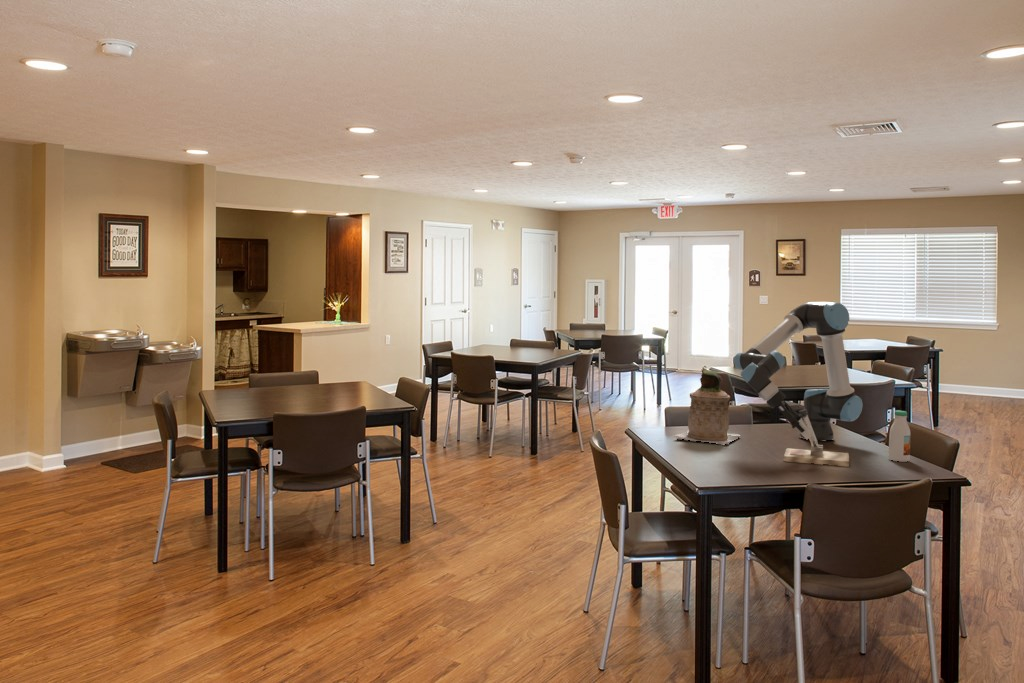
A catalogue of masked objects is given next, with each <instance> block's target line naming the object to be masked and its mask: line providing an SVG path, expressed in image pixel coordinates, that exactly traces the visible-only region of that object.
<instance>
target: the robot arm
mask: <svg viewBox="0 0 1024 683" xmlns="http://www.w3.org/2000/svg"><path fill="white" fill-rule="evenodd" d="M849 322H850V314H849V311H848V308H847V307H846V306H845V305H844V304H843V303H840V302H835V301H809V302H808V301H807V302H805V303H803V304H800V305H798V306H797V307H795V308H793V309H792V310H791V311H790V312H788V313H787V314H786V315H785V316H784V317H783V320H782V321H781V322H780V323H779V324H778V325H777V326H775V327H774V328H773V329H772V330H771V331H770V332H768V333H767V334H765V336H763V337H762V338H761V339H760V340H759V341H758V342H757V343H755V344H754V345H753V346H752V347H750V348H749V349H748V350H746V351H745V352H743V351H742V352H738V353H736V354H735V356H734V357H733V364H734V367H735V368H736V369H738V370H740V371H741V372H740V376H741V378H742V379H743V380H744V381H745V383H747V384H748V385H749V386H750V387H751V389H753V391H755V393H756V394H758V397H759V399H762V400H763V401H764V402H765V401H766V404H767V405H768V406H769V407H770V408H771V409H775V407H777V410H778V411H779V413H781V415H783V417H784V418H785V419H786V420H787V422H788V423H789V424H790V425H791V428H792V429H795V430H796V431H797V432H798V437H799V436H801V437H803V438H805V439H806V441H809V440H808V439H809V438H810V437H811V436H812V435H811V434H810V433H809V431H808V430H807V429H806V428H805V426H804V424H803V421H802V418H801V416H799V413H798V412H797V411H796V410H794V408H793V407H791V406H790V405H789V404H788V403H787V401H786V400H784V399H786V394H785V393H783V392H782V390H779V387H778V386H777V385H776V384H775V383H774V382H773V381H772V380H771V377H772V376H773V375H774V374H776V373H777V372H778V371H779V370H780V369H781V368H782V367H783V366H784V365H785V364H786V360H785V359H786V358H785V357H784V355H783V354H782V353H781V352H780V351H777V350H778V349H779V348H780V347H781V346H782V345H783V344H785V343H786V342H787V341H789V339H790V338H792V337H793V336H794V335H795V334H798V333H801V332H802V331H804V330H806V329H815V331H816V335H817V336H818V337H820V339H821V345H822V349H823V350H822V351H823V357H824V362H825V370H826V374H827V381H828V382H827V383H828V387H829V388H814V389H812V388H811V389H810V388H809V389H806V390H805V392H804V394H803V395H804V396H803V410H804V409H807V412H808V413H807V415H808V418H809V420H810V423H811V426H812V428H813V431H814V434H815V436H816V439H817V440H832V439H834V440H835V435H834V431H833V428H832V424H831V420H835V421H836V420H837V421H842V422H855V421H856V420H857V419H858V418H859V417H860V415H861V413H862V410H863V407H864V406H863V400H862V397H860V396H858V395H856V392H855V389H854V387H852V386H851V383H850V378H849V371H848V365H847V358H846V352H845V351H846V350H845V344H844V339H843V334H844V333H845V332H846V328H847V327H848V326H849Z"/></svg>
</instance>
